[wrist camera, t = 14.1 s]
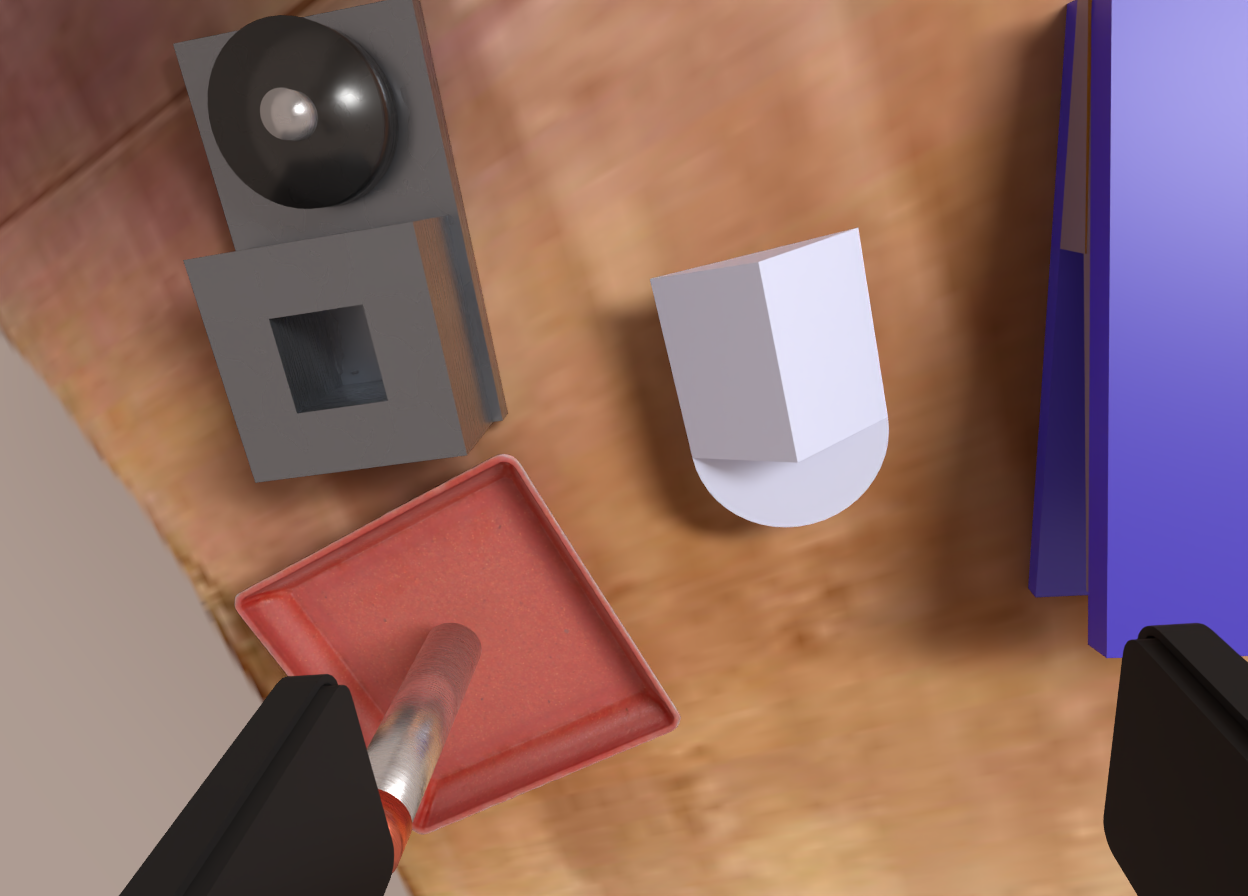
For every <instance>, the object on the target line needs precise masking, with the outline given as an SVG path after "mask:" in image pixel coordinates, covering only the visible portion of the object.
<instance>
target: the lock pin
mask: <svg viewBox="0 0 1248 896" xmlns="http://www.w3.org/2000/svg"><path fill="white" fill-rule="evenodd" d="M481 653H482V646H481V643H480V640H479V638H478V637H477V635H476V634H475V633H474V632H473V631H472V630H471V629H469V628H468V627H466V626H464V625H461V624H458V623H443V624H440V625H438V626H436V627H434V628H433V629H432V630H431V631H430V632H429V634H428V636H427V638H426V640H425V641H424V643H423V645H422V647H421V649H420V651H419V653H418V654H417V656H416V658H415V660H414V662H413V664H412V666H411V668H410V669H409V671H408V673H407V675H406V677H405V679H404V681H403V682H402V684H401V686H400V688H399V690H398V692H397V694H396V695H395V697H394V699H393V701H392V703H391V705H390V707H389V708H388V710H387V712H386V714H385V716H384V718H383V720H382V721H381V723H380V725H379V727H378V729H377V731H376V733H375V734H374V736H373V738H372V740H371V742H370V744H369V746H368V747H367V752H368V755H369V759H370V762H371V766H372V770H373V773H374V777H375V780H376V784H377V787H378V791H379V795H380V798H381V802H382V805H383V809H384V812H385V816H386V820H387V823H388V827H389V830H390V834H391V837H392V841H393V846H394V865H393V871H392V873H393V872H394V871H395V869H396V868H397V866H398V863H399V861H400V859H401V856H402V854H403V851H404V849H405V846H406V844H407V841H408V839H409V836H410V834H411V831H412V822H413V820H414V818H415V815H416V813H417V810H418V808H419V805H420V803H421V800H422V798H423V796H424V793H425V791H426V788H427V786H428V783H429V781H430V779H431V776H432V774H433V771H434V769H435V766H436V764H437V762H438V759H439V757H440V754H441V752H442V749H443V747H444V744H445V742H446V740H447V737H448V735H449V732H450V730H451V727H452V725H453V723H454V720H455V718H456V715H457V713H458V710H459V708H460V706H461V703H462V701H463V698H464V696H465V693H466V691H467V688H468V686H469V684H470V681H471V679H472V676H473V674H474V671H475V669H476V667H477V664H478V662H479V659H480V657H481Z"/></svg>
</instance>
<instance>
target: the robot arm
mask: <svg viewBox="0 0 1248 896" xmlns="http://www.w3.org/2000/svg"><path fill="white" fill-rule="evenodd" d="M1104 831H1105V835H1106V839H1107V842H1108V845H1109V847H1110V850H1111V852H1112V854H1113V855H1114V857H1115V859H1116V860H1117V862H1118V864H1119V865H1120V867H1121V869H1122V870H1123V872H1124V874H1125V875H1126V877H1127V879H1128V880H1129V882H1130V884H1131V885H1132V887H1133V888H1134V890H1135V892H1136V893H1137V895H1138V896H1248V662H1247V661H1246V660H1244V659H1243V658H1242V657H1241V656H1240V655H1239V654H1238V653H1237V652H1236V651H1235V650H1234V649H1232V648H1231V647H1230V646H1229V645H1228V644H1227V643H1226V642H1225V641H1224V640H1223V639H1222V638H1220V637H1219V636H1218V635H1217V634H1216V633H1215V632H1214V631H1213V630H1212V629H1210V628H1209V627H1207V626H1206V625H1204V624H1201V623H1185V624H1168V625H1151V626H1146V627H1144V628H1142V629H1141V631H1140V632H1139V634H1138V638H1137V639H1133V640H1129V641H1127V643H1126V644H1125V646H1124V650H1123V657H1122V665H1121V674H1120V682H1119V691H1118V699H1117V708H1116V716H1115V724H1114V733H1113V741H1112V750H1111V758H1110V767H1109V775H1108V784H1107V792H1106V801H1105V809H1104ZM393 865H394V846H393V841H392V837H391V834H390V830H389V827H388V823H387V820H386V816H385V812H384V809H383V805H382V802H381V798H380V795H379V791H378V787H377V784H376V780H375V777H374V773H373V770H372V766H371V762H370V759H369V755H368V752H367V748H366V744H365V741H364V737H363V734H362V730H361V727H360V723H359V719H358V716H357V712H356V709H355V705H354V702H353V698H352V695H351V692H350V690H349V688H348V687H347V686H345V685H338V683H337V680H336V679H335V678H334V677H333V676H332V675H329V674H318V675H301V676H287V677H284V678H282V679H281V680H280V681H279V682H278V683H277V684H276V686H275V687H274V688H273V690H272V691H271V692H270V694H269V695H268V696H267V698H266V699H265V700H264V702H263V703H262V704H261V706H260V707H259V709H258V710H257V711H256V713H255V714H254V715H253V717H252V718H251V719H250V721H249V722H248V723H247V725H246V726H245V727H244V729H243V730H242V731H241V733H240V734H239V735H238V737H237V738H236V739H235V741H234V742H233V744H232V745H231V746H230V747H229V749H228V750H227V752H226V753H225V754H224V755H223V757H222V758H221V759H220V761H219V762H218V764H217V765H216V766H215V768H214V769H213V770H212V772H211V773H210V774H209V776H208V777H207V778H206V780H205V781H204V782H203V784H202V785H201V786H200V788H199V789H198V791H197V792H196V793H195V794H194V796H193V797H192V799H191V800H190V801H189V802H188V804H187V805H186V807H185V808H184V809H183V810H182V812H181V813H180V815H179V816H178V817H177V819H176V820H175V821H174V823H173V824H172V825H171V827H170V828H169V829H168V831H167V832H166V833H165V835H164V836H163V837H162V839H161V840H160V841H159V843H158V844H157V846H156V847H155V848H154V849H153V851H152V852H151V854H150V855H149V856H148V858H147V859H146V860H145V862H144V863H143V864H142V866H141V867H140V868H139V870H138V871H137V872H136V874H135V875H134V876H133V878H132V879H131V880H130V882H129V883H128V884H127V886H126V887H125V889H124V890H123V891H122V892H121V894H120V895H119V896H384V893H385V890H386V888H387V886H388V883H389V881H390V878H391V875H392V871H393Z"/></svg>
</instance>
